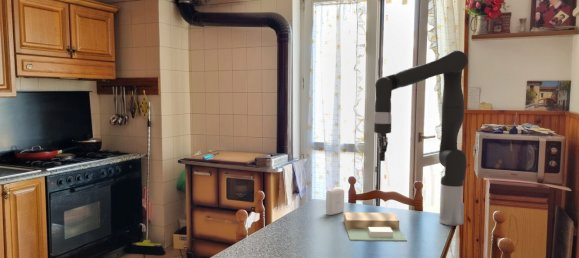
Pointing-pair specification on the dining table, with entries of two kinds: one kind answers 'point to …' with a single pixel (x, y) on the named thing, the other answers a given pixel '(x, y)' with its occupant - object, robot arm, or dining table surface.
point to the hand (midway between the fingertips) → (382, 160)
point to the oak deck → (370, 220)
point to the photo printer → (335, 201)
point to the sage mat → (364, 236)
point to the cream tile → (380, 232)
